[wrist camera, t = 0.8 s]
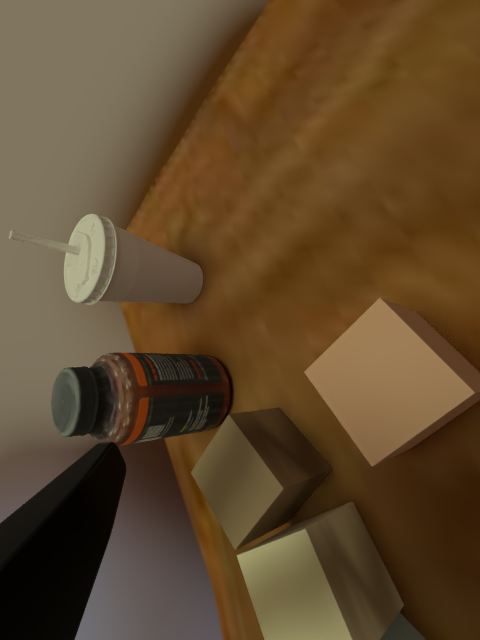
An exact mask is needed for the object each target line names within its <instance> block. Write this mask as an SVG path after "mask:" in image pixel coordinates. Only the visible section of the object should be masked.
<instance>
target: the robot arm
mask: <svg viewBox="0 0 480 640" xmlns="http://www.w3.org/2000/svg"><path fill="white" fill-rule="evenodd" d="M125 475H126V464H125V461H124V459H123V457H122V455H121V452H120V450H119V449H118V446H117V444H116V443H114V442H101V443H98V444H97V445H95V446H94V447H93V448H92V449H90V450H89V451H88V452H87V453H86V454H84V455H83V456H82V457H81V458H79V459H78V460H77V461H76V462H75V463H73V464H72V465H71V466H70V467H68V468H67V469H66V470H65V471H64V472H62V473H61V474H60V475H59V476H58V477H56V478H55V479H54V480H53V481H51V482H50V483H49V484H48V485H47V486H45V487H44V488H43V489H42V490H41V491H39V492H38V493H37V494H36V495H34V496H33V497H32V498H31V499H29V500H28V501H27V502H26V503H25V504H23V505H22V506H21V507H20V508H19V509H17V510H16V511H15V512H14V513H13V514H11V515H10V516H9V517H7V518H6V519H5V520H4V521H3V522H1V523H0V640H74V639H75V636H76V634H77V631H78V628H79V625H80V622H81V619H82V617H83V614H84V611H85V608H86V605H87V602H88V599H89V596H90V593H91V591H92V588H93V585H94V582H95V579H96V576H97V573H98V570H99V568H100V564H101V562H102V559H103V556H104V553H105V550H106V547H107V544H108V541H109V538H110V535H111V531H112V528H113V524H114V520H115V516H116V512H117V508H118V504H119V500H120V496H121V492H122V487H123V483H124V479H125Z"/></svg>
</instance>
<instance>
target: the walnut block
mask: <svg viewBox="0 0 480 640" xmlns="http://www.w3.org/2000/svg"><path fill="white" fill-rule="evenodd" d="M331 470H332V468H331V466H330V465H329V464H328V463H327V462H326V461H325V459H324V458H323V457H322V456H321V455H320V454H319V453H318V451H317V450H316V449H315V448H314V447H313V446H312V444H311V443H310V442H309V441H308V440H307V439H306V438H305V436H304V435H303V434H302V433H301V432H300V431H299V430H298V428H297V427H296V426H295V425H294V424H293V423H292V421H291V420H290V419H289V418H288V417H287V416H286V415H285V413H284V412H283V411H282V410H281V409H280V408H274V409H267V410H259V411H251V412H243V413H235V414H229V415H228V416H227V418H226V419H225V421H224V422H223V424H222V425H221V427H220V428H219V430H218V432H217V433H216V435H215V436H214V438H213V439H212V441H211V442H210V444H209V445H208V447H207V449H206V450H205V452H204V453H203V455H202V456H201V458H200V459H199V461H198V462H197V464H196V465H195V467H194V469H193V470H192V472H191V474H192V476H193V478H194V479H195V481H196V483H197V485H198V486H199V488H200V490H201V491H202V493H203V495H204V497H205V498H206V500H207V502H208V504H209V505H210V507H211V509H212V511H213V512H214V514H215V516H216V518H217V519H218V521H219V523H220V525H221V526H222V528H223V530H224V532H225V533H226V535H227V537H228V539H229V540H230V542H231V544H232V545H233V547H234V549H235V550H236V549H238V548H240V547H242V546H244V545H246V544H248V543H249V542H251V541H253V540H255V539H257V538H259V537H261V536H263V535H264V534H266V533H268V532H270V531H272V530H274V529H276V528H278V527H280V526H281V525H283V524H285V523H287V522H288V521H289V520H290V519H291V518H292V517H293V516H294V514H295V513H296V512H297V511H298V510H299V508H300V507H301V506H302V505H303V504H304V502H305V501H306V500H307V499H308V498H309V496H310V495H311V494H312V493H313V492H314V490H315V489H316V488H317V487H318V486H319V485H320V483H321V482H322V481H323V480H324V479H325V477H326V476H327V475H328V474H329V473H330V471H331Z"/></svg>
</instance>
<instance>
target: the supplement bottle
mask: <svg viewBox="0 0 480 640" xmlns="http://www.w3.org/2000/svg"><path fill="white" fill-rule="evenodd" d="M229 404H230V383H229V379H228V376H227V374H226V371H225V370H224V368H223V367H222V365H221V364H220V363H219V362H218V361H217V360H216V359H214V358H212V357H210V356H205V355H190V354H156V353H109V354H106V355H103V356H101V357H100V358H99V359H97V360H96V361H95V363H94V364H93V365H92V367H90V368H88V367H77V368H76V367H75V368H74V367H72V368H64V369H63V370H62V371H61V372H60V373H59V374H58V376H57V378H56V380H55V383H54V386H53V392H52V399H51V410H52V418H53V423H54V426H55V428H56V430H57V431H58V433H59V434H60V435H61V436H63V437H71V436H78V435H81V436H83V435H86V434H88V433H89V434H90V435H91V436H92V437H93V438H94V439H95V440H96V441H97V442H98V443H101V442H114V443H116V444H117V446H119V445H126V444H132V443H137V442H143V441H149V440H155V439H161V438H166V437H172V436H178V435H184V434H189V433H195V432H201V431H205V430H209V429H213V428H215V427H216V426H217V425H219V424H220V423H221V422H222V420H223V419H224V417H225V415H226V413H227V411H228V408H229Z"/></svg>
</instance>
